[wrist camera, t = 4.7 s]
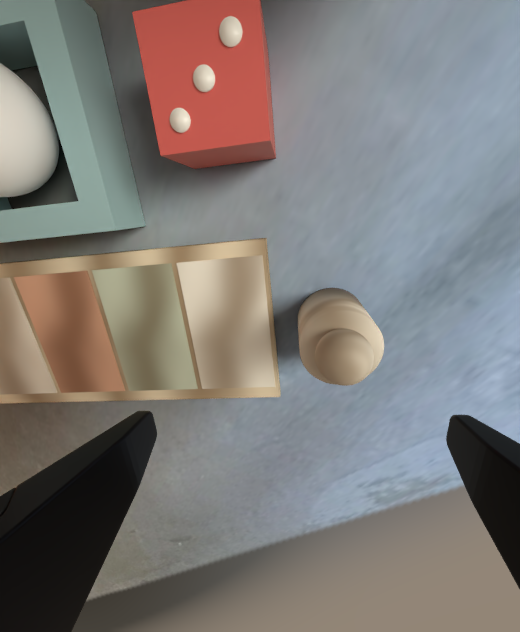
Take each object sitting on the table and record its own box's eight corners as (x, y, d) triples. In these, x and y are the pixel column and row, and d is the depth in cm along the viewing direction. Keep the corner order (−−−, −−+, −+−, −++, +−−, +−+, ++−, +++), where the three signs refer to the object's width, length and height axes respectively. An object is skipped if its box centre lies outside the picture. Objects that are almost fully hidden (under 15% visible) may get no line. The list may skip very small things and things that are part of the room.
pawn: (364, 285, 19) (402, 325, 13) (363, 346, 21) (395, 409, 14) (295, 290, 20) (298, 331, 13) (299, 349, 21) (303, 411, 15)
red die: (268, 52, 15) (257, -17, 10) (276, 158, 17) (270, 140, 12) (178, 68, 16) (130, 10, 11) (194, 168, 18) (159, 155, 13)
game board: (266, 237, 19) (265, 238, 18) (280, 392, 23) (280, 397, 22) (-58, 268, 22) (-69, 270, 21) (6, 399, 26) (-1, 404, 25)
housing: (96, 12, 15) (43, -40, 12) (145, 226, 19) (116, 230, 16) (-76, 49, 17) (-165, 11, 13) (2, 241, 21) (-52, 248, 17)
